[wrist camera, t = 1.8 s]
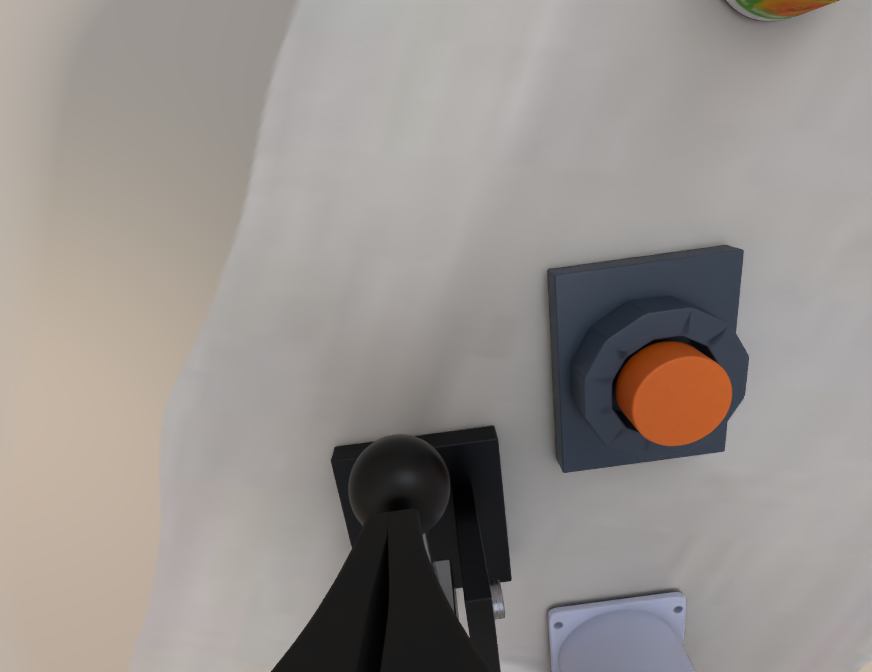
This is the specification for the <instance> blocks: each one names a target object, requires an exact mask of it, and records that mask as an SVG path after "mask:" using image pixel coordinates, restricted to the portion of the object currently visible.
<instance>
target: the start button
mask: <svg viewBox="0 0 872 672" xmlns="http://www.w3.org/2000/svg"><path fill="white" fill-rule="evenodd" d="M616 399H617V403H618V405H619V407H620V409H621V411H622V412H623V413H624V414H625V416H626V417H627V418H628V419H629V420H630V422H631V423H632V424H633V425H634V427H635V428H636V429H637V430H638V431H639V433H640V434H641V435H642V436H643V437H645V438H646V439H648V440H649V441H651V442H654V443H656V444H660V445H664V446H681V445H686V444H690V443H693V442H695V441H698V440H700V439H701V438H703V437H705V436H706V435H708V434H709V433H711V432H712V431H713V430H714V429H715V428H716V427H717V426H718V425H719V424H720V423H721V422H722V420H723V419H724V417H725V416H726V414H727V412H728V410H729V407H730V404H731V400H732V385H731V382H730V379H729V377H728V375H727V373H726V371H725V370H724V369H723V368H722V367H721V366H720V365H719V364H718V363H716V362H715V361H713V360H712V359H710V358H709V357H707V356H706V355H704V354H703V353H701V352H700V351H699V350H697V349H696V348H694V347H693V346H691V345H689V344H686V343H683V342H678V341H663V342H658V343H655V344H651V345H649V346H647V347H645V348H643V349H641V350H640V351H638V352H637V353H635V354H634V355H633V356H632V357H631V358H630V359H629V360H628V361H627V362H626V363H625V365H624V366H623V368H622V370H621V372H620V374H619V376H618V379H617V383H616Z"/></svg>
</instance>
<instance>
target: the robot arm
mask: <svg viewBox="0 0 872 672" xmlns="http://www.w3.org/2000/svg"><path fill="white" fill-rule="evenodd" d="M685 614H686V598H685V597H684V595H683V594H682V593H681V592H669V593H662V594H654V595H647V596H639V597H632V598H624V599H617V600H609V601H602V602H594V603H587V604H579V605H571V606H564V607H556V608H553V609H551V610H550V611H549V612H548V627H549V643H550V659H551V672H696V670H695V668H694V666H693V664H692V663H691V661H690V659H689V657H688V655H687V654H686V652H685V650H684V648H683V642H684V628H685ZM271 672H493V671H492V670H491V669H490V667H489V666H488V664H487V663H486V661H485V660H484V658H483V657H482V656H481V654H480V653H479V651H478V650H477V648H476V647H475V645H474V644H473V643H472V641H471V640H470V638H469V636H468V635H467V633H466V631H465V630H464V628H463V627H462V625H461V623H460V622H459V620H458V618H457V616H456V615H455V613H454V611H453V609H452V607H451V606H450V604H449V602H448V600H447V598H446V596H445V594H444V592H443V590H442V588H441V586H440V583H439V581H438V579H437V577H436V575H435V572H434V570H433V567H432V565H431V562H430V560H429V557H428V554H427V552H426V549H425V546H424V540H423V534H422V529H421V523H420V517H419V512H418V511H417V510H415V509H407V510H399V511H392V512H384V513H377V514H369V515H368V517H367V518H366V520H365V522H364V524H363V527H362V529H361V531H360V533H359V535H358V538H357V540H356V542H355V544H354V546H353V548H352V550H351V552H350V554H349V556H348V558H347V560H346V561H345V563H344V565H343V567H342V569H341V571H340V572H339V574H338V576H337V578H336V580H335V581H334V583H333V585H332V586H331V588H330V590H329V591H328V593H327V595H326V596H325V598H324V599H323V601H322V603H321V604H320V606H319V608H318V609H317V611H316V612H315V614H314V615H313V617H312V618H311V620H310V621H309V622H308V624H307V625H306V627H305V628H304V630H303V631H302V632H301V634H300V635H299V636H298V638H297V639H296V641H295V642H294V643H293V645H292V646H291V647H290V648H289V650H288V651H287V652H286V653H285V655H284V656H283V657H282V658H281V660H280V661H279V662H278V663H277V665H276V666H275V667H274V668H273V670H272V671H271Z"/></svg>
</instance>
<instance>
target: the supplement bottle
mask: <svg viewBox="0 0 872 672" xmlns="http://www.w3.org/2000/svg"><path fill="white" fill-rule="evenodd" d="M726 1H727V2H728V3H729V4H730V5H731V6H732V7H733V8H734V9H736V10H737V11H738V12H740V13H741V14H743V15H745V16H747V17H750V18H752V19H756V20H762V21H777V20H783V19H788V18H791V17H794V16H797V15H800V14H803V13H806V12H809V11H812V10H814V9H817V8H820V7H823V6H825V5H828V4H831V3H833V2H836V1H839V0H726Z"/></svg>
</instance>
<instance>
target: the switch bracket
mask: <svg viewBox="0 0 872 672" xmlns="http://www.w3.org/2000/svg"><path fill="white" fill-rule="evenodd" d="M414 437H417V438H419V439H422V440H424V441H426V442H427V443H428V444H430V445H431V446H432V447H434V448H435V449H436V451H437V452H438V453H439V454H440V455H441V457H442V458H443V460H444V462H445V464H446V467H447V469H448V473H449V477H450V496H449V501H448V504H447V507H446V509H445V511H444V513H443V515H442V517H441V518H440V520H439V521H438V522H437V523H436V524H435V525H434V526H433V527H432V528H431V529H430V530H429V535H430V540H431V544H432V549H433V554H434V559H435V561H440V560H448V559H449V560H450V561H451V566H452V572H453V578H454V583H455V588H463V592H464V600H465V608H466V614H467V621H468V628H469V635H470V640H471V641H472V643H473V644H474V645H475V647H476V648H477V650H478V651H479V653H480V654H481V656H482V657H483V658H484V660H485V661H486V663H487V664H488V666H489V667H490V669H491V670H492V671H493V672H501V671H500V662H499V654H498V645H497V637H496V628H495V619H502V618H505V609H504V602H503V596H502V590H501V585H500V582H508V581H511V580H512V579H511V568H510V558H509V548H508V537H507V527H506V517H505V506H504V496H503V485H502V475H501V465H500V454H499V444H498V437H497V434H496V430H495V427H494V426H488V427H481V428H473V429H466V430H458V431H451V432H444V433H436V434H429V435H421V436H414ZM372 443H373V442H369V443H362V444H354V445H347V446H339V447H335V448H334V452H333V455H332V459H331V464H332V468H333V472H334V476H335V480H336V484H337V488H338V493H339V497H340V501H341V505H342V509H343V513H344V517H345V521H346V526H347V530H348V534H349V538H350V542H351V546H352V548H353V546H354V544H355V542H356V540H357V538H358V535H359V533H360V531H361V529H362V527H363V526H362V524H361V523H360V522H359V521H358V519H357V518H356V516H355V514H354V512H353V510H352V507H351V504H350V500H349V493H348V484H349V478H350V474H351V471H352V468H353V465H354V464H355V462H356V460H357V458H358V457H359V456H360V454H361V453H362V452H363V451H364V450H365V449H366V448H367V447H368V446H369V445H371V444H372Z"/></svg>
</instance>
